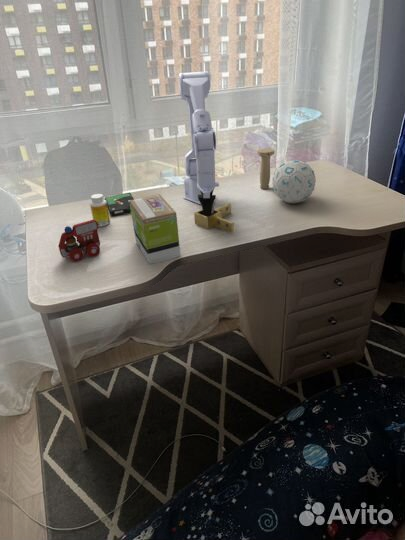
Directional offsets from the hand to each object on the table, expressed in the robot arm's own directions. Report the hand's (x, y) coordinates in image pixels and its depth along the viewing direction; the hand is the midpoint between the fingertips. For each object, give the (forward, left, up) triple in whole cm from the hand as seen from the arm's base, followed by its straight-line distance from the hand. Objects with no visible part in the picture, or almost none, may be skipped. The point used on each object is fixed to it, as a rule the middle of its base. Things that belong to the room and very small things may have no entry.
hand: (207, 210), depth 136 cm
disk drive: (-35, -11, -6) cm, 37 cm away
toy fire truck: (-14, -40, -5) cm, 43 cm away
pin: (0, 0, -5) cm, 5 cm away
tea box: (+1, -23, -5) cm, 24 cm away
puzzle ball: (+11, +33, -5) cm, 35 cm away
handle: (-5, +37, -5) cm, 38 cm away
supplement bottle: (-28, -24, -5) cm, 37 cm away
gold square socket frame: (+4, +4, -5) cm, 7 cm away
